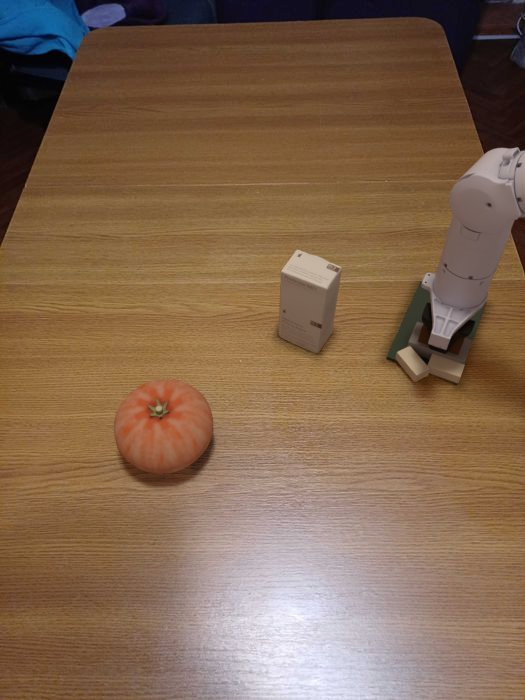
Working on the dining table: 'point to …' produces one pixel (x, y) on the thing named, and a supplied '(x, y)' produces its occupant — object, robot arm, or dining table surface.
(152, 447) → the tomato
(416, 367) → the chalk
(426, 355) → the eraser
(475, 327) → the slate
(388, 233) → the dining table surface
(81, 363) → the dining table surface
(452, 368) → the chalk
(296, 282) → the cosmetic box
